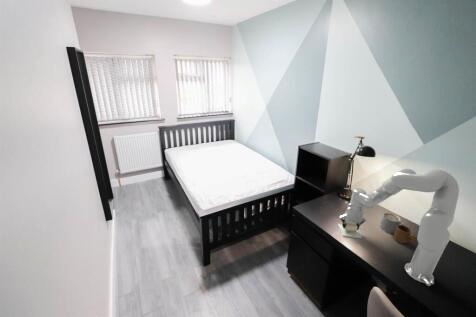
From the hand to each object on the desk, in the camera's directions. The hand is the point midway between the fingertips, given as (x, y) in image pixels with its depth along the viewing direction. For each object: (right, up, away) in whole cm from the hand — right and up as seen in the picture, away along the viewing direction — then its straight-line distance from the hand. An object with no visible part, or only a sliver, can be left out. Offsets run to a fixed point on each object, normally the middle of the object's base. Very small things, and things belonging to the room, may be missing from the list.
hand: (350, 227), depth 150 cm
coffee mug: (+31, -3, +4) cm, 31 cm away
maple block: (0, -2, +1) cm, 2 cm away
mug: (+31, -7, -7) cm, 33 cm away
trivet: (0, -3, +1) cm, 3 cm away
